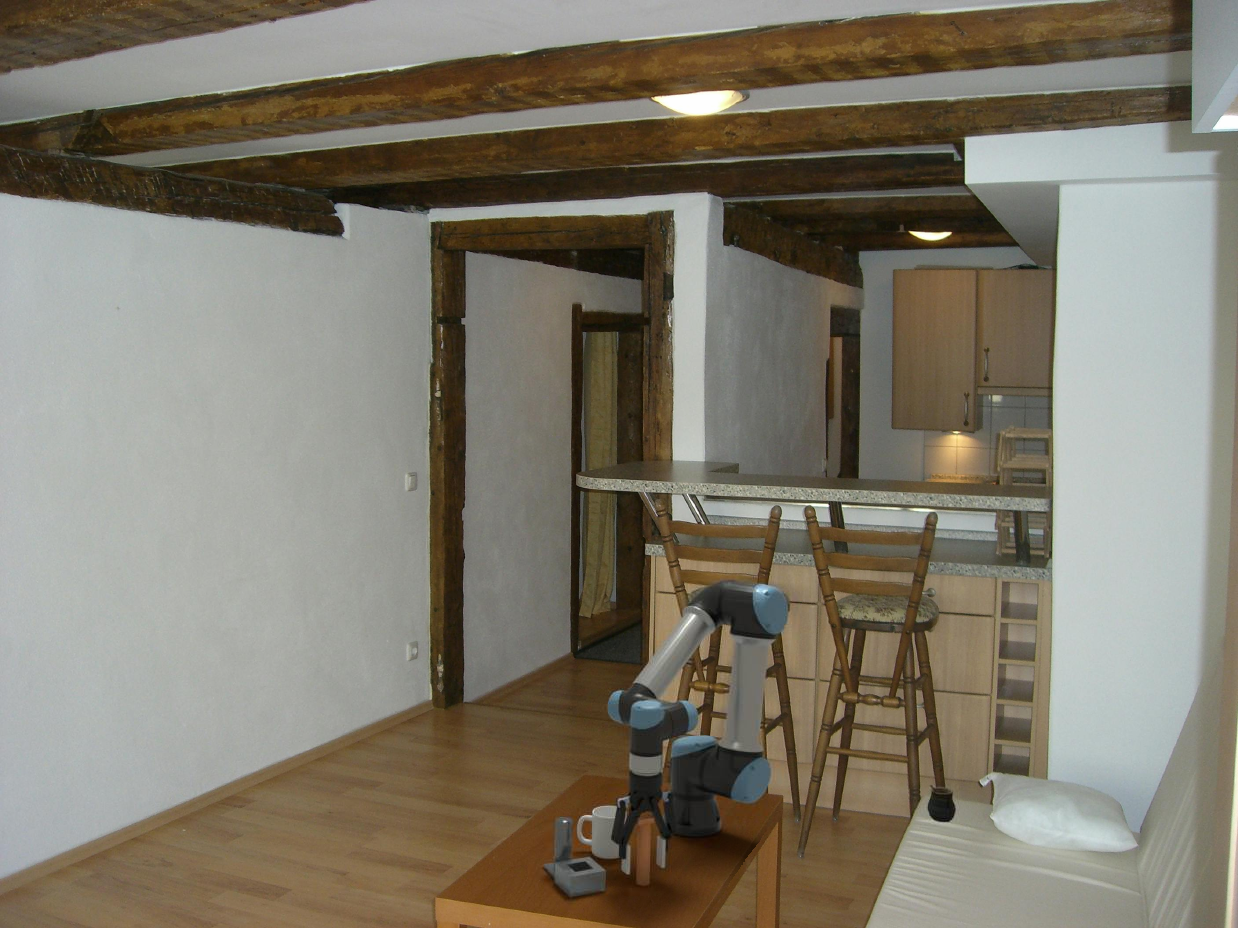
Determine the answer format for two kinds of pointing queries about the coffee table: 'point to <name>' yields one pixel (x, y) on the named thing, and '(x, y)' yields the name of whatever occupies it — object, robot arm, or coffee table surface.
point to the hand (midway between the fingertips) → (643, 868)
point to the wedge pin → (643, 849)
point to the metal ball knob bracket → (573, 865)
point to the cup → (601, 832)
